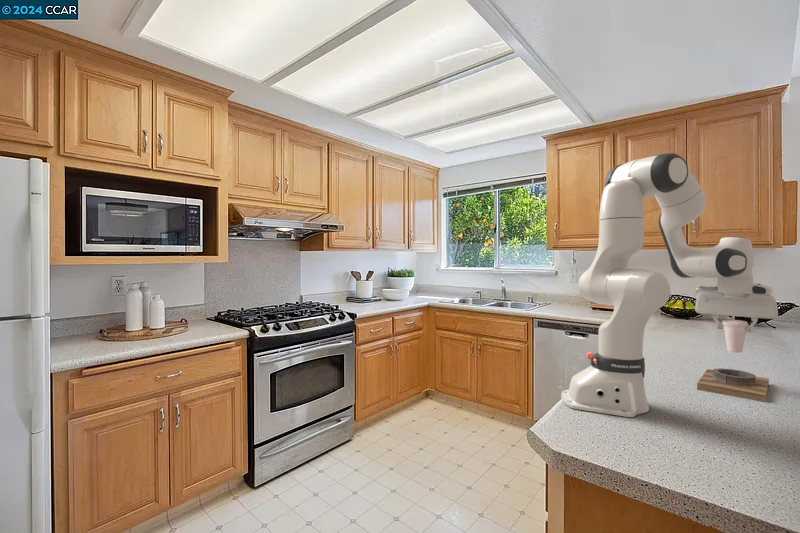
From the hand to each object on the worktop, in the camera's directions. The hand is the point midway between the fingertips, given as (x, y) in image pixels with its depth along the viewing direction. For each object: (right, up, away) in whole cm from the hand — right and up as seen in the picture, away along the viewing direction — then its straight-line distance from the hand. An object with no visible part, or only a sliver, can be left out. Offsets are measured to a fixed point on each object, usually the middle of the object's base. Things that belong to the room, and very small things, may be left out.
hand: (734, 329), depth 126 cm
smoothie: (0, -7, 0) cm, 7 cm away
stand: (0, -19, 0) cm, 19 cm away
